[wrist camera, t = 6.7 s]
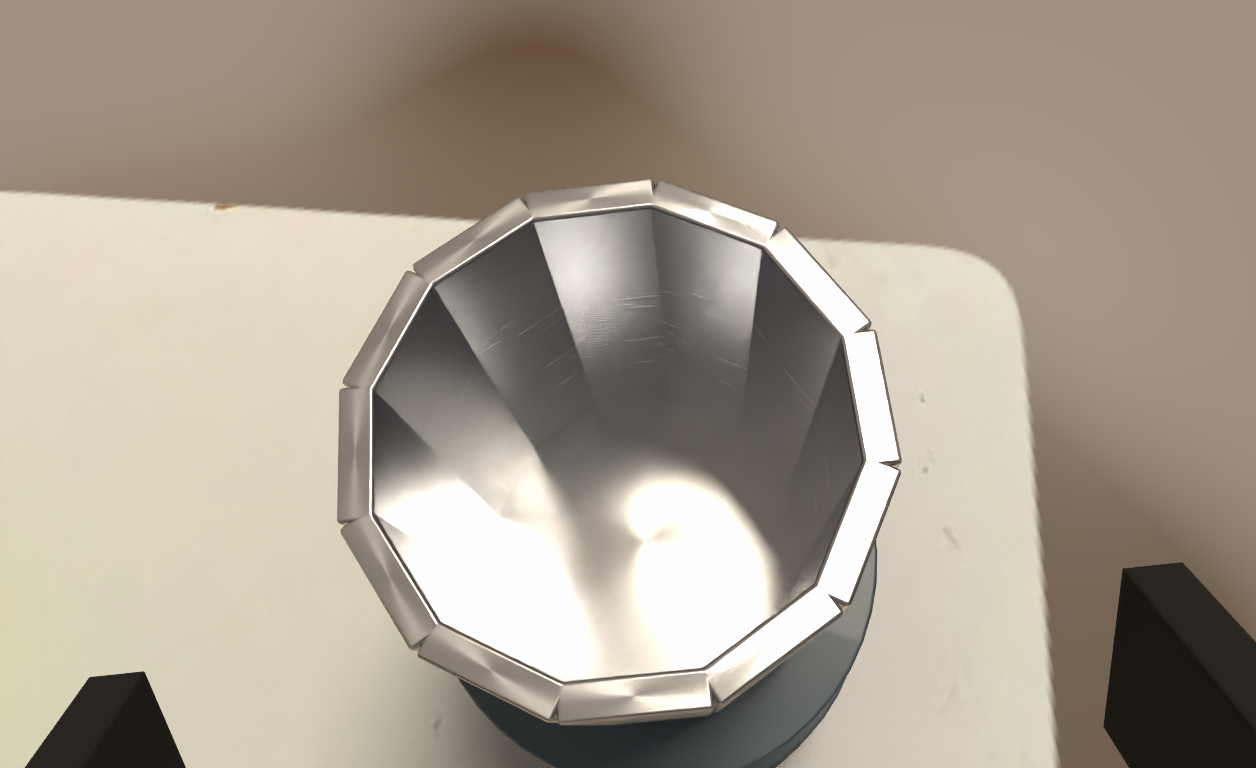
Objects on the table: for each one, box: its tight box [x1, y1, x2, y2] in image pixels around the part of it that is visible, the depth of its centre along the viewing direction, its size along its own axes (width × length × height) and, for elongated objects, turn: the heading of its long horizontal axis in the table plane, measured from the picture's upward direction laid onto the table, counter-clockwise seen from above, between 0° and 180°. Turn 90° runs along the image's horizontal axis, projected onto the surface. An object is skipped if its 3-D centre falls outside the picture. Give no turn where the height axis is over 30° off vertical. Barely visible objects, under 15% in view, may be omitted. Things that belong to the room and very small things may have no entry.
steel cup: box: [337, 178, 902, 725], centre depth 17 cm, size 7×7×9 cm
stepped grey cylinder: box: [458, 540, 877, 768], centre depth 27 cm, size 12×12×12 cm
